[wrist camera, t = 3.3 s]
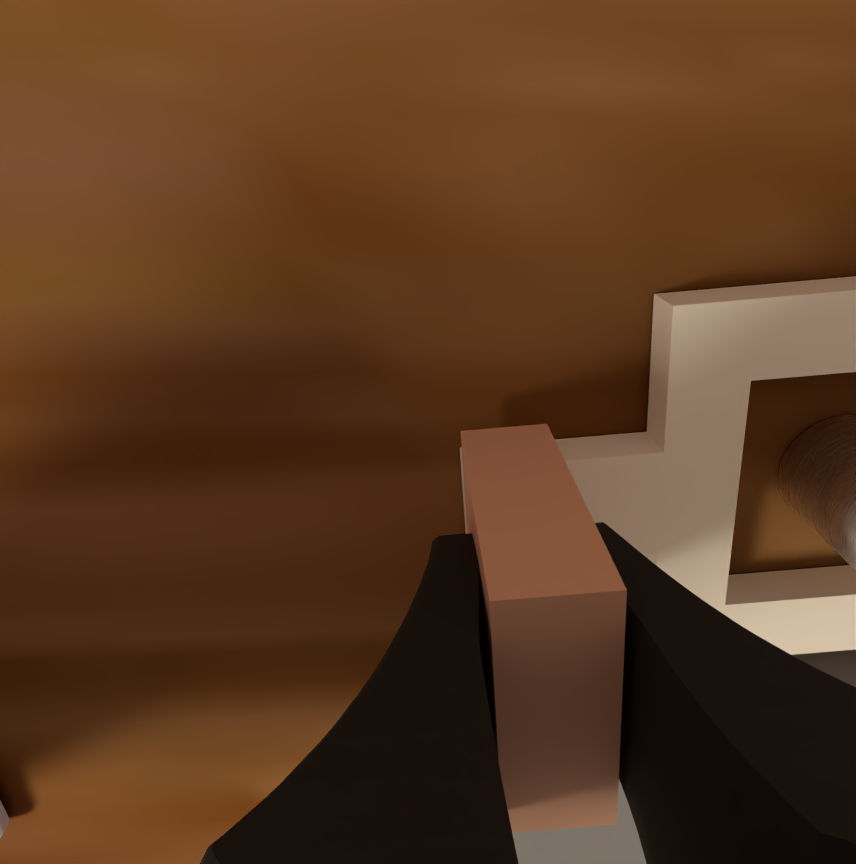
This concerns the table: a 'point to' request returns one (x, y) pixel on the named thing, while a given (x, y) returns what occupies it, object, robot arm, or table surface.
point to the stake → (824, 482)
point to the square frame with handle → (638, 537)
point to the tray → (620, 844)
